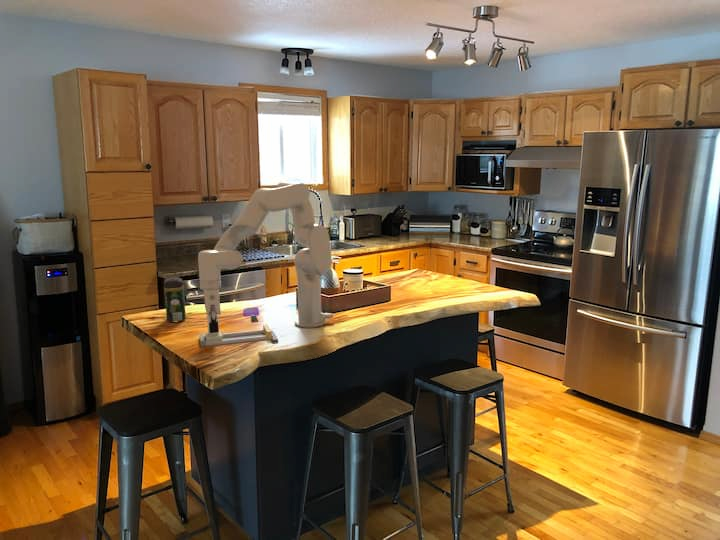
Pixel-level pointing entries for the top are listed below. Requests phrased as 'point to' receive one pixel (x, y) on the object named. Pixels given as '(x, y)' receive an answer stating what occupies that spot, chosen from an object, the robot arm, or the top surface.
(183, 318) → the coffee jar
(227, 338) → the track
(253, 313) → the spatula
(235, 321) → the top surface
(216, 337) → the keeper
